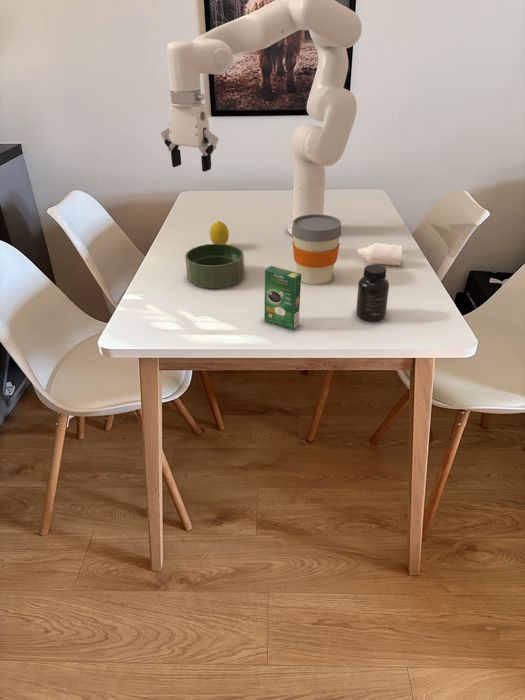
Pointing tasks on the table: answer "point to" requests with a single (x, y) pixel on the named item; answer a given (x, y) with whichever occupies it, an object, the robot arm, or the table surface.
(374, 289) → the supplement bottle
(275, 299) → the coffee box
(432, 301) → the table surface
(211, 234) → the lemon
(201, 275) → the green round bowl
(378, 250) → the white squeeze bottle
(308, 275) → the reusable coffee cup
